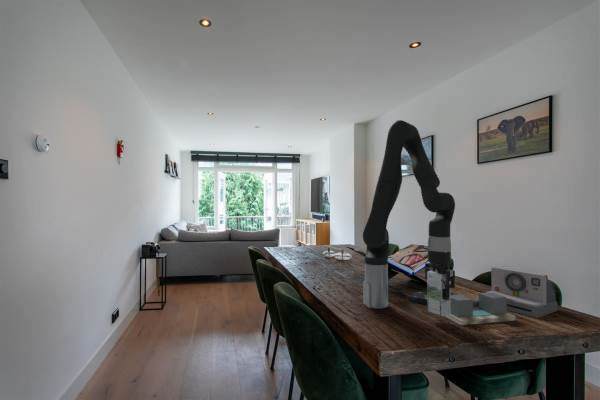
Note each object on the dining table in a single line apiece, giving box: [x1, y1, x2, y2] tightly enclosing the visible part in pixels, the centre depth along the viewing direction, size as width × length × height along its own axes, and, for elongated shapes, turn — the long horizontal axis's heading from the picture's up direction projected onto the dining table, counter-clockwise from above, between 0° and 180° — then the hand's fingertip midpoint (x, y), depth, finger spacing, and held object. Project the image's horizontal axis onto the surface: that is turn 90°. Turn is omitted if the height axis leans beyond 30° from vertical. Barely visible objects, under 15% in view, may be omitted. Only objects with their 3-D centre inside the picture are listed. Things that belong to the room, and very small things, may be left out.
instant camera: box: [485, 266, 558, 319], centre depth 128 cm, size 21×21×15 cm
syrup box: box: [426, 271, 451, 317], centre depth 112 cm, size 6×6×14 cm
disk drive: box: [409, 291, 427, 306], centre depth 136 cm, size 10×3×15 cm
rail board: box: [444, 292, 516, 326], centre depth 117 cm, size 22×12×8 cm, turn 101°
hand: (438, 296), depth 112 cm, fingers closed on syrup box, 7 cm apart
